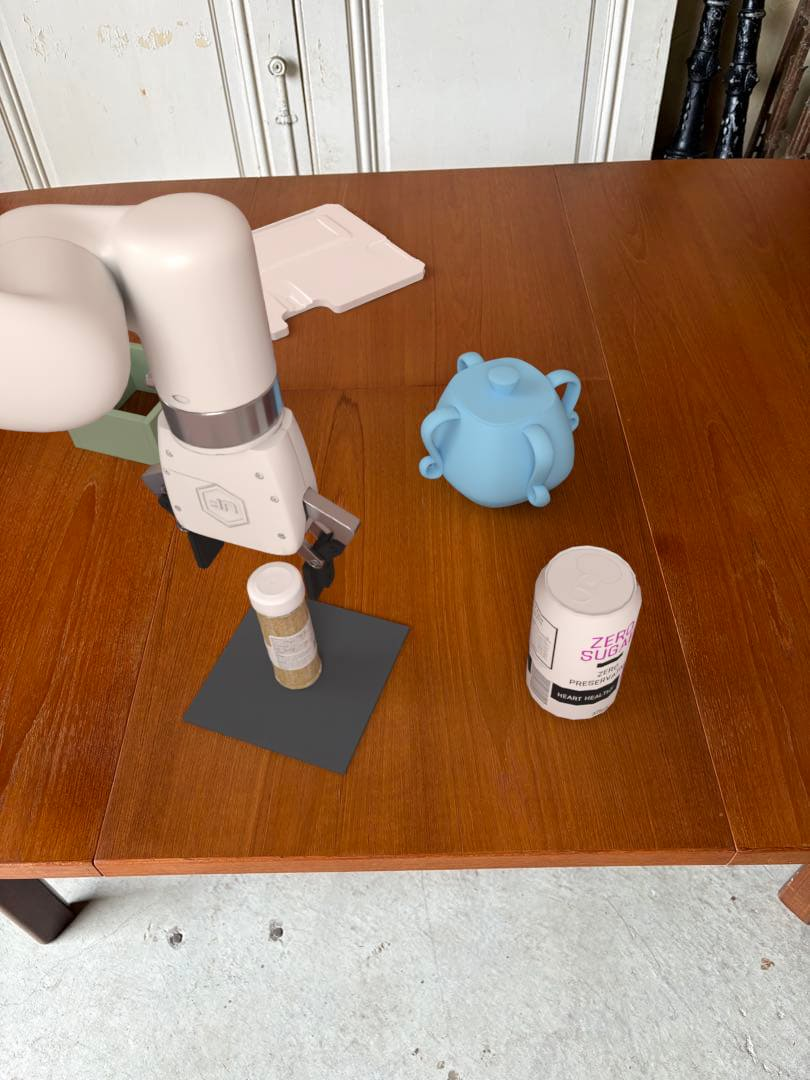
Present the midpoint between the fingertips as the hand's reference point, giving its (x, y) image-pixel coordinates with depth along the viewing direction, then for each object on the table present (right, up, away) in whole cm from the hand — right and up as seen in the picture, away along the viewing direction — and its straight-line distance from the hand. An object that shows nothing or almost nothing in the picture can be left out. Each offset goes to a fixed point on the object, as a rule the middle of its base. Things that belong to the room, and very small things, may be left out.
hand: (265, 571), depth 65 cm
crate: (-21, +17, +37) cm, 46 cm away
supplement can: (+26, -11, +9) cm, 30 cm away
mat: (+1, -10, +11) cm, 15 cm away
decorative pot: (+22, +10, +28) cm, 37 cm away
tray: (-4, +44, +60) cm, 75 cm away
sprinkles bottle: (+1, -10, +11) cm, 15 cm away
